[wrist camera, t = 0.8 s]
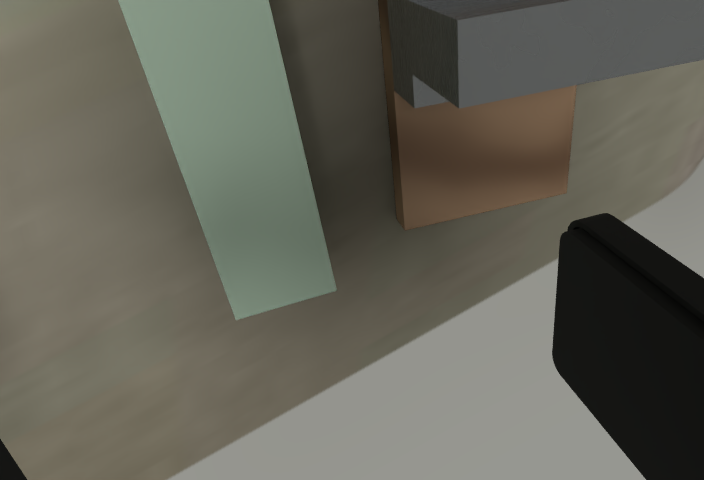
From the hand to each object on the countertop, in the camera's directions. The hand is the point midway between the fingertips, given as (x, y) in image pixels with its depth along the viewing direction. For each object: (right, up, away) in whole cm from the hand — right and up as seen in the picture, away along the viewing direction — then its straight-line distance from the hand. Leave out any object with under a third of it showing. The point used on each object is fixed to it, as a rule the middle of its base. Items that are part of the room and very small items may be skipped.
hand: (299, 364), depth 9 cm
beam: (-6, +11, +17) cm, 21 cm away
